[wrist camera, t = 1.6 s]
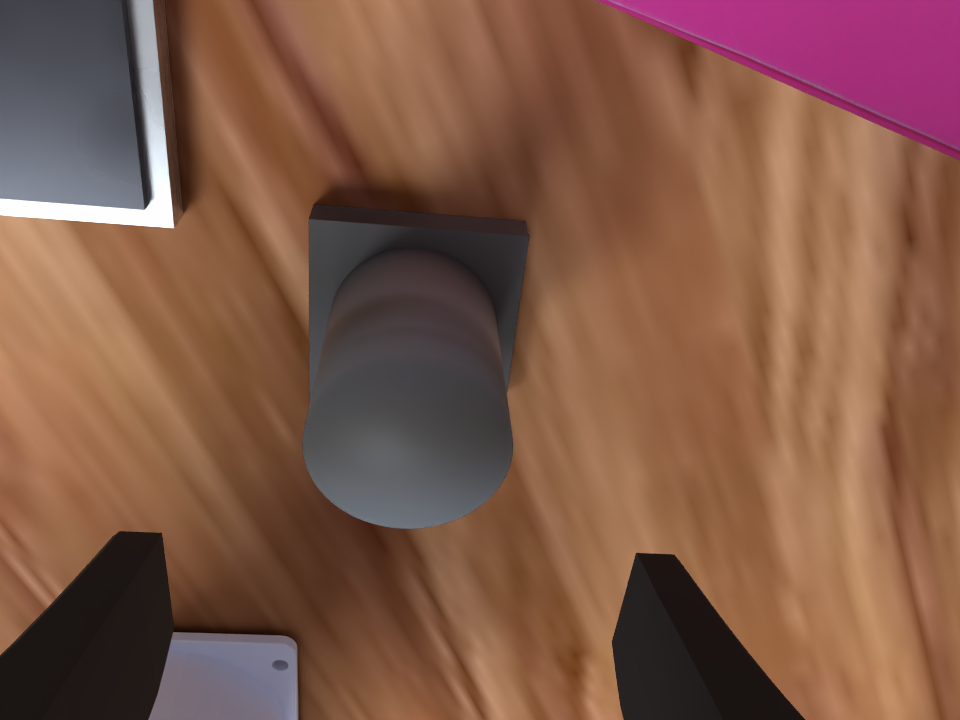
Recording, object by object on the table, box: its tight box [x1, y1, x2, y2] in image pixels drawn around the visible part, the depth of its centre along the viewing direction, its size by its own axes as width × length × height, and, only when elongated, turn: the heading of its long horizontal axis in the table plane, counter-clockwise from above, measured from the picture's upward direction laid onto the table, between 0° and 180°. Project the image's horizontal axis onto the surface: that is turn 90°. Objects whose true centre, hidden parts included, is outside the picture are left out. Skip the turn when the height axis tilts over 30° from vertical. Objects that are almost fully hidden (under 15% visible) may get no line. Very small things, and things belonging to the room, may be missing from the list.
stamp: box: [302, 204, 529, 529], centre depth 18 cm, size 5×5×6 cm
